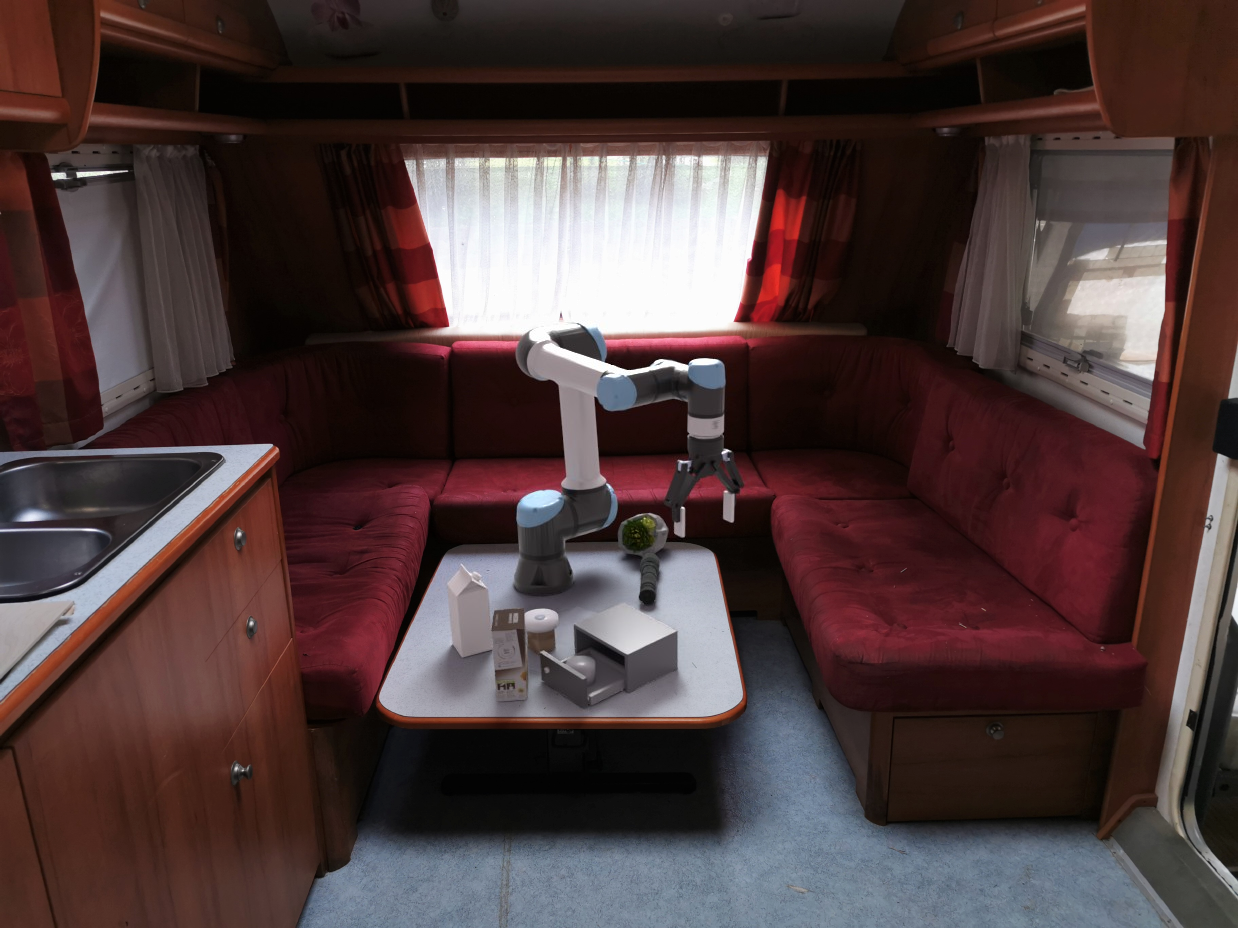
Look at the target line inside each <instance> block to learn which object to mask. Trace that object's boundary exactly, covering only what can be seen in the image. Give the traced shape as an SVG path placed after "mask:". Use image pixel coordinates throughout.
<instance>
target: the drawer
mask: <svg viewBox="0 0 1238 928" xmlns="http://www.w3.org/2000/svg"><path fill="white" fill-rule="evenodd" d="M539 661H540V662H539V665H540V680H541V682H543V683H545V684H546V685H547V686H550V687H551V688H552V689H554V690H555V691H557V692H558V693H560V694H561V695H563V697H566V698H568V700H570V701H572V702H573V703H574V704H576V705H577V706H579V707H581V709H587V708H588V706H589V705H590V706H594V705H595V704H597V703H599V702H601V701H603V700H605V699H607V698H609V697H611V696H613V695H615V694H617V693H619V692H621V691H623V689H625V667H624V666H622V665H620V664H619V663H617V662H615V661H613V660H612V659H610V658H608V657H607V656H605V655H603V654H602V653H600V652H598V651H596V650H595V649H593V648H591V647H589V648H587V649H585V650H583V651H581V652H578V653H576V654H575V653H573V654H572V655H570V656H567V657H566V658H563V659H561V660H560V659H558V658H556V657H555V656H553V655H551V654H550V653H548V652H545V651H541V652H540V655H539Z"/></svg>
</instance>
